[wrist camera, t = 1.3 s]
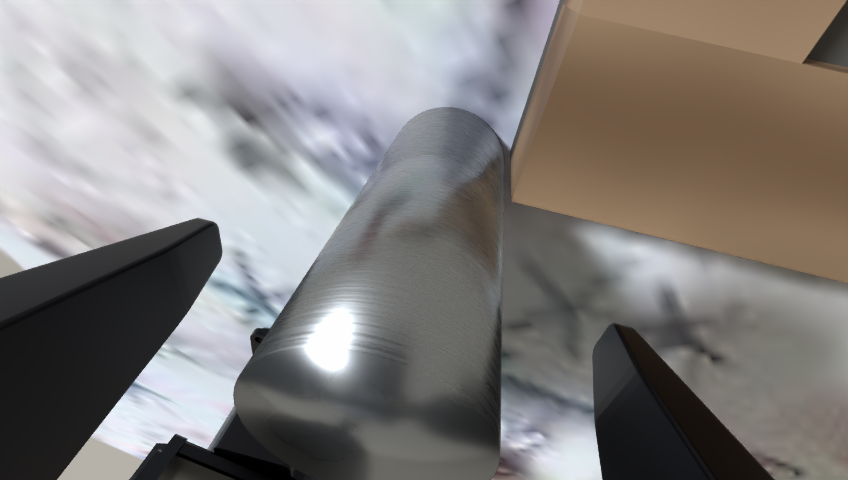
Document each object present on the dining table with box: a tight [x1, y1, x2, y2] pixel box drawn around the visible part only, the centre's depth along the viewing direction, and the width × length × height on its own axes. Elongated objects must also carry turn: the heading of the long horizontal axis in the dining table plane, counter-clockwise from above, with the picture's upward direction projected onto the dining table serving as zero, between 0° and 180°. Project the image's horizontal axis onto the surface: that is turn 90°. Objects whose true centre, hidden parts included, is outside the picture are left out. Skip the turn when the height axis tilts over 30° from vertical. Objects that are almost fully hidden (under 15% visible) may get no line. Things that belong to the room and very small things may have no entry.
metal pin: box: [233, 107, 504, 480], centre depth 10 cm, size 4×4×10 cm
